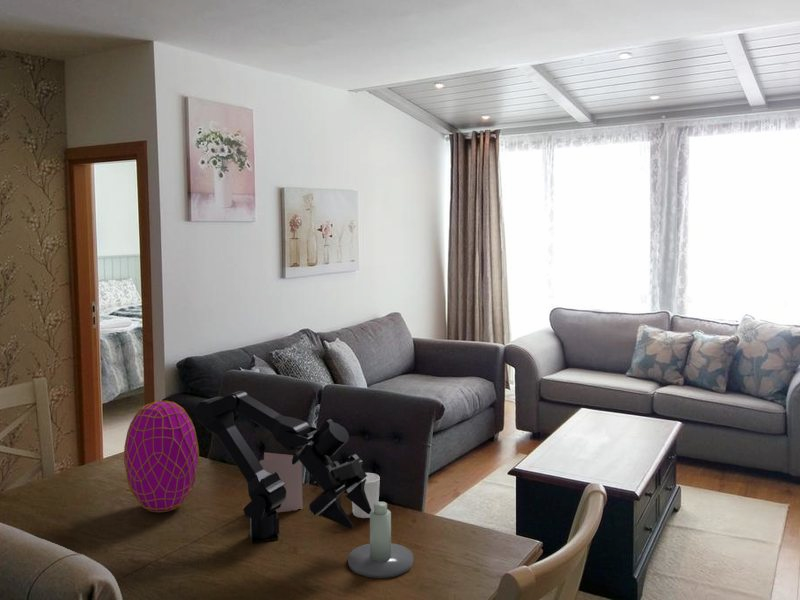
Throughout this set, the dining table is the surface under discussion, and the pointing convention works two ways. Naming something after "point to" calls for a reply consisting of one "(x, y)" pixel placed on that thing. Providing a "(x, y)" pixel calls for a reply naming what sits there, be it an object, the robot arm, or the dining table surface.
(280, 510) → the greeting card
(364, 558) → the gray round disc
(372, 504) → the white cup
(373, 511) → the pale green bottle
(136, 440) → the decorative egg
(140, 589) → the dining table surface
